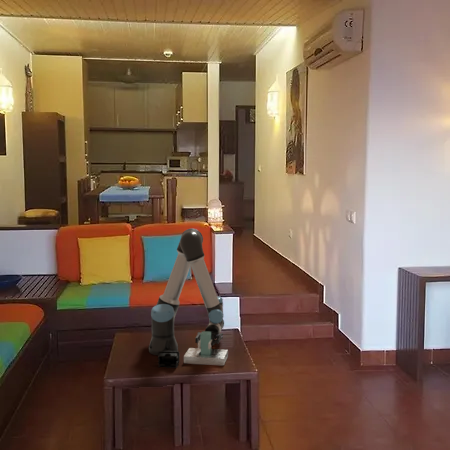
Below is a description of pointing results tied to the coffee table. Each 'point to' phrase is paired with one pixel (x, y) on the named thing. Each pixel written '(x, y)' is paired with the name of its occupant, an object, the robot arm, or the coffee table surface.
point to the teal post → (205, 343)
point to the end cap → (168, 359)
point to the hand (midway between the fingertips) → (203, 346)
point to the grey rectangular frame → (206, 357)
